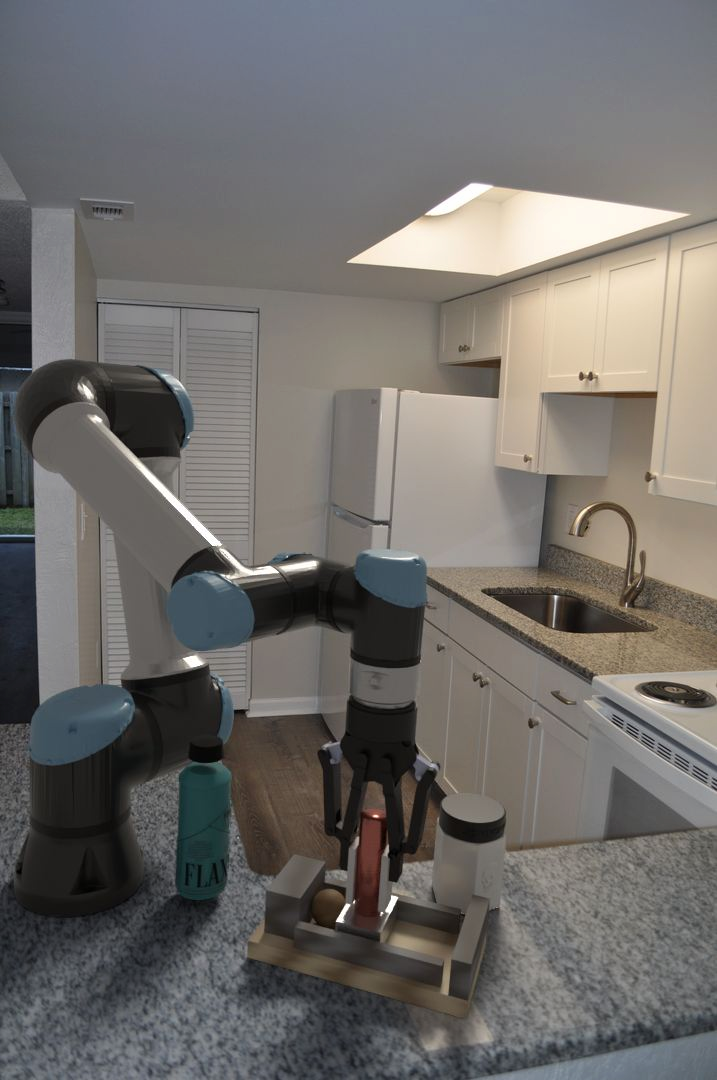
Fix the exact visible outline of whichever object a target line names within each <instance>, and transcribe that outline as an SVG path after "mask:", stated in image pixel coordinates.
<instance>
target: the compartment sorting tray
mask: <svg viewBox="0 0 717 1080" xmlns="http://www.w3.org/2000/svg"><path fill="white" fill-rule="evenodd" d="M326 865H327V862H326V861H325V860H320V859H317V858H316V859H315V858H312V857H307V856H303V855H299V854H295V853H294V854H293V855H292V856H291V858H290V859H289V860H288V862H286V864H285V865H284V867H283V868H282V869H281V870H280V872H279V873H278V874H277V876H276V877H275V878H274V880H273V881H272V882H271V883H270V884H269V886H268V887H267V888H266V890H265V904H264V905H265V908H264V909H265V910H264V918H263V919H262V921H261V922H260V924H259V925H258V926H257V928H256V929H255V930H254V931H253V933H252V934H251V936H250V937H249V939H248V940H247V949H246V951H247V954H246V958H248V959H252V960H256V961H259V962H261V963H262V962H263V963H266V964H270V965H272V966H277V967H280V968H284V969H288V970H291V971H295V972H298V973H301V974H305V975H309V976H312V977H316V978H320V979H323V980H327V981H330V982H333V983H336V982H337V984H340V985H343V986H347V987H352V988H355V989H358V990H362V991H366V992H369V993H372V994H375V995H376V994H377V995H380V996H383V997H388V998H391V999H394V1000H398V1001H401V1002H405V1003H408V1004H412V1005H415V1006H418V1007H422V1008H426V1009H429V1010H433V1011H436V1012H440V1013H443V1014H447V1015H451V1016H454V1017H458V1018H461V1019H464V1020H467V1017H468V1013H469V1011H470V1006H471V1002H472V999H473V995H474V993H475V987H476V984H477V981H478V977H479V973H480V970H479V969H481V966H482V961H483V958H484V955H483V954H485V951H486V947H485V946H486V944H487V935H488V924H489V923H488V922H489V913H490V911H489V904H490V898H485V897H481V896H477V895H473V894H472V897H471V900H470V903H469V906H468V909H467V913H466V915H464V919H463V922H462V924H461V915H462V914H461V909H458V908H454V907H450V906H446V905H442V904H437V903H436V902H433V901H429V900H424V899H420V898H416V897H412V896H409V895H403V894H399V893H395V892H392V896H395V897H398V905H397V918H396V923H395V925H394V927H393V929H392V932H391V934H390V936H389V938H388V940H387V942H386V943H382V942H378V941H374V940H370V939H366V938H363V937H359V936H355V935H351V934H347V933H344V932H340V931H336V930H335V929H336V927H333V928H324V927H322V926H320V925H318V924H317V923H316V922H315V920H314V919H313V916H312V913H311V905H312V901H313V899H314V897H315V896H316V895H317V894H318V893H319V892H320V891H322V890H325V889H334V890H336V891H338V892H339V893H341V894H342V896H343V897H344V899H345V901H346V885H347V880H342V879H337V878H333V877H329V876H328V877H327V878H326V867H327V866H326ZM325 879H326V880H325ZM484 950H485V951H484ZM480 965H481V966H480Z"/></svg>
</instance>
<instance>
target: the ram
mask: <svg viewBox="0 0 717 1080" xmlns="http://www.w3.org/2000/svg"><path fill="white" fill-rule="evenodd" d="M358 831H359V836H358V837H359V846H358V861H357V876H356V891H355V900H354V902H353V904H352V905H350V904H346V905H345V907H344V909H343V910H342V912H341V914H340V915H339V917H338V919H337V920H336V929H335V930H336V931H340V932H344V933H347V934H351V935H355V936H359V937H363V938H366V939H370V940H374V941H378V942H382V943H386V942H387V940H388V938H389V936H390V934H391V932H392V929H393V927H394V925H395V923H396V918H397V905H398V897H395V896H391V901H390V903H389V905H388V907H387V909H386V911H385V913H382V912H378V902H379V889H380V875H381V861H382V854H383V853H384V851H385V849H386V847H387V842H388V832H387V820H386V811H384V810H382V809H380V808H367V809H364V810H362V812H361V816H360V821H359V830H358Z"/></svg>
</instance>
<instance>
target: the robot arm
mask: <svg viewBox="0 0 717 1080" xmlns="http://www.w3.org/2000/svg"><path fill="white" fill-rule="evenodd" d="M194 415H195V414H194V408H193V403H192V401H191V399H190V395H189V393H188V392H187V390H186V387H184V386H183V384H182V382H180V381H179V380H178V379H177V378H175V376H173V374H171V373H169V372H167V371H165V370H161V369H157V368H152V367H149V366H146V365H140V364H136V365H130V364H129V365H128V364H117V363H110V362H109V363H108V362H99V361H87V360H84V359H77V358H76V359H73V358H67V359H66V358H65V359H57V360H54V361H51V362H48V363H46V364H44V365H41V366H40V367H38V368H37V369H35V370H34V371H32V373H30V374H29V376H28V377H27V378H26V379H25V380H24V382H23V383H22V384H21V385H20V388H19V390H18V391H17V394H16V396H15V401H14V406H13V420H14V426H15V430H16V433H17V435H18V437H19V439H20V442H21V444H22V445H23V447H24V448H25V450H26V451H27V453H28V454H29V455H30V457H32V458H33V459H34V460H35V462H36V463H37V464H38V465H39V466H40V467H41V468H42V469H44V470H45V471H47V472H49V473H53V474H59V475H60V476H61V477H62V479H64V480H65V481H66V482H67V483H68V485H69V486H70V488H72V489H73V490H74V491H75V492H76V493H77V494H78V495H79V497H80V498H81V499H82V500H83V501H84V502H85V503H86V504H87V506H89V508H90V509H92V511H93V512H94V513H95V514H96V515H97V516H98V517H99V519H100V520H102V522H103V523H104V524H105V525H106V527H108V529H110V531H111V532H112V535H113V541H114V543H113V544H114V551H115V557H116V565H117V573H118V581H119V586H120V594H121V602H122V610H123V616H124V622H125V623H124V624H125V631H126V638H127V639H126V640H127V646H128V647H127V648H128V655H129V662H128V664H127V666H126V667H125V668H124V670H123V671H122V673H121V674H120V683H121V684H120V685H121V686H119V685H114V684H105V683H102V684H101V683H100V684H99V683H98V684H96V683H95V685H91V686H88V685H80V686H76V687H72V688H69V689H66V690H63V691H61V692H58V693H56V694H54V695H52V696H50V697H49V698H47V699H46V700H45V701H43V702H42V703H41V704H40V705H39V706H38V707H37V709H35V712H34V713H33V715H32V717H31V723H30V732H29V739H28V744H27V749H28V751H27V752H28V755H29V826H28V827H29V828H28V830H27V833H26V836H25V838H24V841H23V843H22V846H21V849H20V852H19V854H18V855H19V856H18V858H17V861H16V864H15V867H14V871H13V894H14V897H15V899H16V901H17V902H18V903H19V904H20V905H21V906H23V908H26V909H28V910H29V911H32V912H34V913H37V914H40V915H44V916H49V917H65V918H66V917H80V916H86V915H87V916H88V915H91V914H95V913H98V912H103V911H106V910H108V909H110V908H113V907H115V906H118V905H119V904H121V903H123V902H124V901H126V900H128V899H129V898H130V897H131V896H132V895H134V893H136V892H137V890H138V889H139V888H140V887H141V884H143V883H142V882H143V880H144V877H145V876H144V872H145V857H144V852H143V851H142V848H141V846H140V844H139V840H138V835H137V833H136V830H135V827H134V824H133V820H132V816H131V815H132V813H131V810H132V809H131V808H132V807H131V806H132V789H133V788H135V787H137V786H140V785H142V784H145V783H148V782H151V781H153V780H157V779H159V778H161V777H163V776H167V775H170V774H171V773H175V772H177V771H180V770H183V769H185V768H186V767H187V766H188V765H190V764H191V763H193V762H194V761H192V760H190V759H189V757H188V753H189V747H190V741H191V739H192V738H194V737H197V736H201V735H214V736H218V737H220V738H221V739H222V740H223V746H225V744H226V743H227V742H228V740H229V738H230V735H231V734H232V729H233V726H234V719H235V718H234V717H235V716H234V715H235V713H234V711H235V708H234V702H233V698H232V697H233V696H232V694H231V692H230V689H229V688H228V687H226V686H225V681H224V680H223V678H221V677H220V676H219V675H217V674H216V673H214V672H212V671H211V669H210V662H209V660H208V659H206V658H205V657H204V656H202V655H201V654H200V653H199V652H208V651H209V652H211V651H216V650H223V649H224V650H225V649H232V648H237V647H239V646H240V645H242V644H247V643H250V642H255V641H258V640H262V639H265V638H268V637H269V638H270V637H273V636H279V635H284V634H287V633H291V632H294V631H299V630H303V629H306V628H310V627H318V628H324V629H327V630H330V631H334V632H338V633H343V634H349V635H350V641H349V642H350V644H349V646H350V647H349V650H350V652H349V663H348V664H349V666H348V681H347V682H348V685H347V691H348V693H349V694H350V695H348V697H347V698H346V711H345V727H344V734H343V736H342V737H341V739H340V741H336V742H333V741H330V740H329V741H326V742H325V743H324V744H323V745H322V746H321V748H319V750H317V753H316V755H317V758H318V761H319V764H320V766H321V769H322V783H323V784H322V788H323V822H324V829H323V830H324V834H326V836H328V837H334V838H336V839H337V840H338V841H339V844H340V847H339V849H340V850H339V863H338V865H339V868H340V870H341V871H345V872H346V873H347V875H346V882H347V885H346V901H345V903H346V904H350V905H352V904H353V902H354V900H355V891H356V876H357V861H358V846H359V836H357V833H358V831H360V828H359V826H360V816H361V812H362V811H363V807H364V803H365V798H366V794H367V789H368V785H369V783H370V782H371V783H372V782H375V783H377V784H379V785H381V787H382V795H383V797H384V807H385V812H386V820H387V845H386V849H385V851H384V853H383V854H382V861H381V875H380V889H379V902H378V912H382V913H385V911H386V909H387V907H388V905H389V903H390V901H391V896H392V893H393V884H395V883H396V884H397V883H398V882H399V879H401V876H402V875H403V867H404V855H405V854H409V855H410V856H411V855H412V856H413V855H415V854H417V852H418V850H419V848H420V846H421V843H422V841H423V836H424V831H425V825H426V821H427V814H428V808H429V802H430V798H431V789H432V786H433V783H434V781H435V780H436V778H437V777H438V776H437V775H438V774H439V772H440V770H441V763H440V762H438V761H436V760H433V761H429V760H428V759H426V758H425V757H424V756H422V755H420V751H419V750H420V749H419V748H418V746H417V743H416V733H417V722H418V719H417V718H418V709H419V704H418V702H417V701H416V699H417V698H418V697H419V695H420V683H421V668H422V660H421V658H422V643H423V633H424V624H425V623H424V622H425V613H426V605H427V602H428V592H427V577H428V576H427V574H428V573H427V570H428V569H427V563H426V560H425V559H424V557H422V555H419V554H417V553H415V552H410V551H407V550H400V549H398V550H395V549H389V548H373V549H364V550H362V551H361V552H359V553H358V554H357V556H356V559H355V564H354V563H349V562H345V561H340V560H337V559H331V558H326V557H321V556H318V555H314V554H313V553H310V552H309V553H308V552H301V553H299V552H294V551H293V552H291V551H286V552H281V553H280V552H279V553H278V554H277V555H275V556H274V557H273V558H272V559H271V560H269V561H268V562H267V563H262V564H261V563H260V564H256V565H247V564H245V563H243V561H241V560H240V558H238V557H237V556H236V555H235V554H234V553H233V552H232V551H231V550H230V549H229V548H228V547H227V546H226V544H224V543H223V542H222V541H221V540H220V539H219V538H218V536H216V535H215V534H214V533H213V532H212V531H211V530H210V529H209V528H208V527H207V526H206V525H205V524H204V523H203V522H202V521H201V520H200V519H199V518H198V517H197V516H196V515H195V514H194V513H193V512H192V511H191V510H190V509H189V508H188V507H187V506H186V505H185V504H184V503H183V502H182V500H180V499H179V498H178V497H177V496H176V495H175V489H174V481H173V475H174V472H175V471H176V470H177V468H178V467H179V466H180V465H181V464H182V456H181V451H183V450H184V449H185V448H186V447H187V446H188V444H189V442H190V441H191V438H192V437H191V434H190V433H193V431H194V428H195V416H194ZM343 756H344V757H345V759H346V761H347V763H348V765H349V766H350V768H351V770H352V772H353V774H352V779H351V782H350V792H349V795H348V796H349V797H348V801H347V805H346V809H345V814H344V818H343V809H342V808H343V807H342V806H343V805H342V804H343V803H342V770H341V769H342V766H341V765H342V764H341V760H342V759H343ZM411 767H413V768H414V769H415V772H414V777H415V779H416V781H418V783H417V785H416V787H415V792H414V797H413V798H414V799H413V804H412V810H411V815H410V816H411V817H410V821H409V828H408V834H407V836H406V830H405V829H406V828H405V819H404V818H405V817H404V806H403V792H402V791H403V790H402V786H403V776H404V775H405V774H406V773H407V772H408V771H409V770H410V769H411Z"/></svg>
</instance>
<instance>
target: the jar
mask: <svg viewBox="0 0 717 1080" xmlns="http://www.w3.org/2000/svg"><path fill="white" fill-rule="evenodd" d="M506 815H507V811H506V809H505V806H504V805H503V804H502V803H501V802H500V801H498V800H496V799H494V798H492V797H491V796H487V795H484V794H480V793H474V792H457V793H456V792H455V793H451V794H448V795H446V796H445V797H443V798H442V800H441V801H440V804H439V814H438V817H436V829H435V840H434V853H433V866H432V877H431V878H432V879H431V887H432V891H433V894H434V898H435V903H436V902H437V904H442V905H446V906H450V907H454V908H458V909H461V912H462V913H464V914H466V913H467V909H468V906H469V903H470V900H471V897H472V894H473V895H477V896H481V897H485V898H490V904H489V910H491V909H493V908H496V907H499V906H500V907H501V898H502V888H503V879H504V878H503V877H504V865H505V858H506V857H505V856H506V847H507V836H506V834H505V829H506V826H507V825H506V824H507V817H506ZM500 907H499V908H500ZM496 909H497V908H496ZM493 910H494V909H493ZM491 911H492V910H491Z"/></svg>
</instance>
